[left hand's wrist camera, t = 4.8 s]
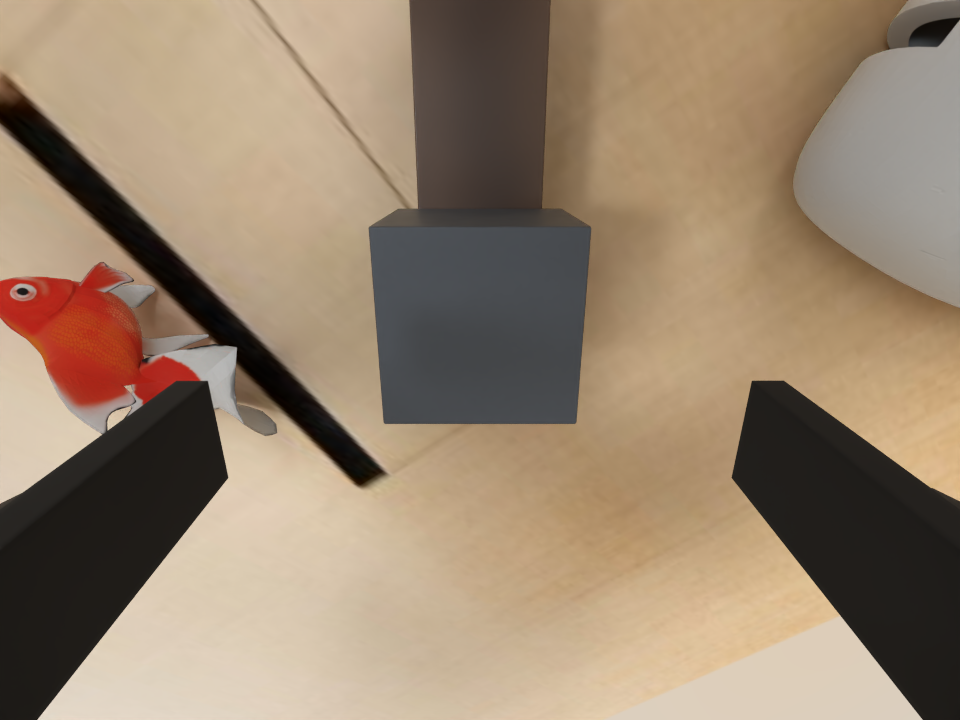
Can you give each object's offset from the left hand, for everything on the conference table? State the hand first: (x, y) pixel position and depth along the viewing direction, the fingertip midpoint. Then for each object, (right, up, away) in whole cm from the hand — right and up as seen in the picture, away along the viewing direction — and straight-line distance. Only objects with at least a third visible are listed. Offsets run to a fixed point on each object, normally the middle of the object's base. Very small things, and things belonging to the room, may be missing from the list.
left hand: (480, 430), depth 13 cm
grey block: (0, +5, +14) cm, 15 cm away
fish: (-19, +3, +21) cm, 29 cm away
